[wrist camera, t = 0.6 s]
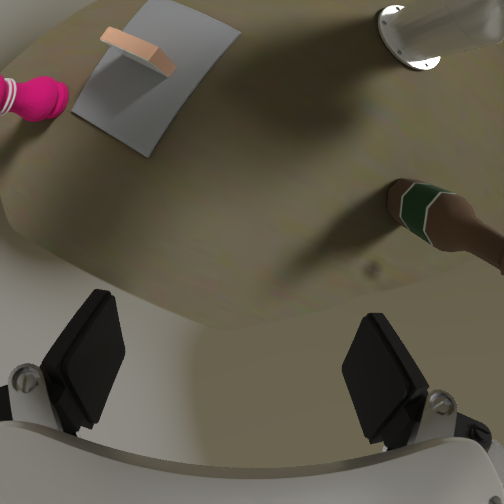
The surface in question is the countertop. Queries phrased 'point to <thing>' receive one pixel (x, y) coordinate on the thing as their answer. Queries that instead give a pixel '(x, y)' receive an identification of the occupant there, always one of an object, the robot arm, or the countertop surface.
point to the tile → (139, 51)
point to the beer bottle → (444, 220)
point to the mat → (153, 74)
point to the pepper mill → (33, 98)
